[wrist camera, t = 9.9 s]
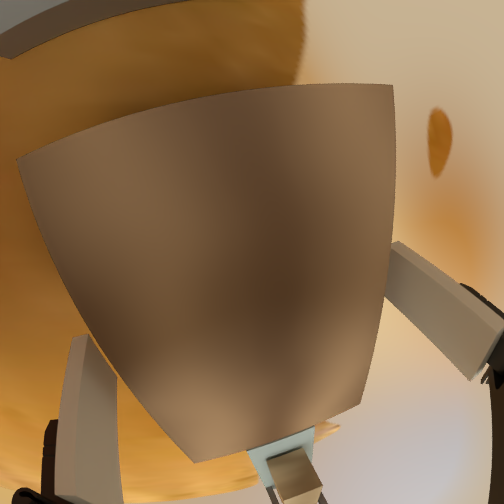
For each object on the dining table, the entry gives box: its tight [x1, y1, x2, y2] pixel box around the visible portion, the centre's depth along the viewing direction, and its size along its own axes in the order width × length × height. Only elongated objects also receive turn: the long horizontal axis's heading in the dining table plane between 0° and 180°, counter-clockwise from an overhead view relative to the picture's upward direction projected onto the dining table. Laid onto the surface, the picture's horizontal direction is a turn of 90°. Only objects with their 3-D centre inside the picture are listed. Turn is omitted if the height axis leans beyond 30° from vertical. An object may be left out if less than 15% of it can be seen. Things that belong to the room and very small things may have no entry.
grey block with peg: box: [247, 426, 328, 504], centre depth 19 cm, size 4×12×13 cm, turn 8°
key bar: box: [266, 448, 323, 504], centre depth 17 cm, size 2×12×3 cm, turn 8°
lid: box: [16, 83, 396, 463], centre depth 11 cm, size 10×16×2 cm, turn 8°
